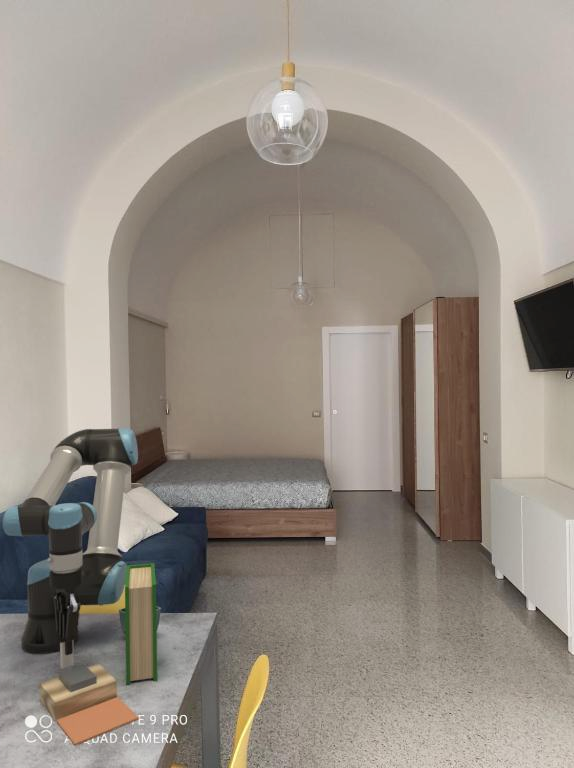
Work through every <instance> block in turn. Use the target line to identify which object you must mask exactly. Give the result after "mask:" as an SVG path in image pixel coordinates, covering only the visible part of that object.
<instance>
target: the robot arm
mask: <svg viewBox="0 0 574 768" xmlns="http://www.w3.org/2000/svg"><path fill="white" fill-rule="evenodd" d="M137 442H138V441H137V438H136V434H135V432H134V431H133V430H132V429H130V428H120V427H119V428H98V429H97V428H96V429H95V428H89V429H88V428H87V429H80V430H77V431H75V432H73V433H71V434H70V435H68V436H66V437H65V438H63V439H62V440H61V441H59V443H58V444H57V445H56V446H55V447H54V448H53V450H52V451H51V453H50V457H49V459H50V460H49V462H48V464H47V465H46V467H45V468H44V470H43V471H42V473H41V475H40V476H39V478H38V479H37V481H36V482H35V484H34V486H33V487H32V489H30V490H31V491H30V492H29V493H28V495H27V496H26V498H25V499H24V500H23V503H22V504H21V505H16V506H10V507H7V508H6V510H5V511H4V515H3V516H2V527H3V531H4V533H5V534H6V535H7V536H10V537H11V536H12V537H13V536H14V537H21V538H22V537H31V536H33V537H35V536H48V544H49V545H48V549H49V551H48V554H49V557H48V558H46V559H43V560H40V561H38V562H36V563H34V564H33V565H31V566H30V567H29V569H28V572H27V582H26V586H27V621H26V623H25V627H24V631H23V634H22V636H21V649H22V650H23V651H24V652H26V653H29V654H30V653H31V654H41V655H42V654H49V653H50V654H51V653H55V652H58V651H59V656H60V658H59V659H60V660H59V662H60V663H59V664H60V665H59V666H60V668H61V669H62V670H63V669H64V670H65V669H66V668H67V669H68V668H71V667H73V666H74V665H75V664H74V662H75V660H74V654H75V653H74V650H75V649H74V644H75V643H76V642H77V641H79V638H78V637H79V619H80V610H81V607H82V606H104V605H105V606H106V605H113V604H116V603H118V602H119V600H120V599H121V597H122V595H123V592H124V591H125V579H126V566H127V563H126V562H125V561H123V560H122V559H123V556H122V554H120V553H119V551H118V548H119V538H120V529H121V519H122V509H123V501H124V491H125V485H126V484H125V482H126V476H127V475H128V474H129V473H131V471H132V466H135V465H136V464H138V460H139V452H138V451H139V450H138V443H137ZM82 466H92V469H93V470H94V472H95V473H96V479H95V480H96V481H95V482H96V483H95V489H94V496H93V503H90V502H86V501H84V502H83V501H82V502H81V501H80V502H77V503H75V502H69V503H59V504H57V502H58V500H59V499H60V497H61V495H62V493H63V491H64V490H65V488H66V486H67V485H68V483H69V481H70V479H71V477H72V476H73V474H74V473H75V472H77V471H79V469H80V468H81V467H82ZM88 531H89V533H88V541H87V542H88V543H87V549H86V550H85V551H83V535H84V534H86V533H87V532H88Z"/></svg>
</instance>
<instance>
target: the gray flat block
mask: <svg viewBox="0 0 574 768" xmlns="http://www.w3.org/2000/svg"><path fill="white" fill-rule="evenodd" d="M87 667H88V666H86V665H85V663H82V664H79V665H76V666H74V667H73V666H72V667H69V668H67V669H64V670H61V671H58V677H59V680H60V681H61V682H62V683H63V684H64V686H65V687H66V688H67V689H68V690H69V691H70V692H74V691H76V690H79V689H82V688H85V687H88V686H90V685H93V684H96V683H97V676H96V675H95V674H94V673H93V672H91V671H90V670H89V669H88V668H87Z"/></svg>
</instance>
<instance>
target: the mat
mask: <svg viewBox="0 0 574 768" xmlns="http://www.w3.org/2000/svg"><path fill="white" fill-rule="evenodd" d="M139 719H140V718H139V716H138V715H137V714H136V713H135V712H134V711H133V710H132V709H131V708H130V707H129V706H128V705H127V704H126V703H125V702H124V701H122V700H121V698H120V697H119V696H117V697H116V698H114V699H111V700H108V701H106V702H103V703H100V704H98V705H95V706H92V707H90V708H87V709H85V710H82V711H79V712H77V713H74V714H71V715H69V716H66V717H63V718H61V719H58V720H57V721H56V723H57V724H58V726H59V727H60V729H61V730H62V731H63V732H64V734H65V735H66V736H67V738H68V739H69V740H70V741H71V743H72V744H73V746H78V745H80V744H82V743H85V742H88V741H90V740H92V739H94V738H97V737H99V736H102V735H104V734H107V733H108V731H109V732H111V731H114V730H115V728H116V729H118V727H119V728H121V727H124V726H126V725H128V724H131V723H133V722H135V721H137V720H139ZM123 725H124V726H123ZM113 729H114V730H113ZM106 732H107V733H106Z"/></svg>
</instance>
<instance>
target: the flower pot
mask: <svg viewBox="0 0 574 768" xmlns="http://www.w3.org/2000/svg"><path fill="white" fill-rule="evenodd" d="M161 610H162V607H160V606H157V605H156V624H157V630H158V629H159V625H160V621H161V620H160V619H161ZM118 616H119V623H120V628H121V631H122V633H123V635H124V636H125V637H126V631H125V607H122V608H120V609H119V610H118Z"/></svg>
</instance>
